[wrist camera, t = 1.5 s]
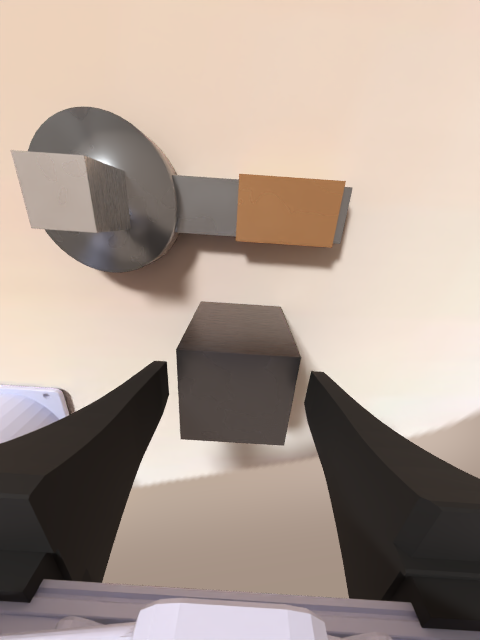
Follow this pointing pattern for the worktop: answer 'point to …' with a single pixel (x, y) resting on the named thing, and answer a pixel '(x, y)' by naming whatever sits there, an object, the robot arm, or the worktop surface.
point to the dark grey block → (236, 374)
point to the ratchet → (156, 196)
